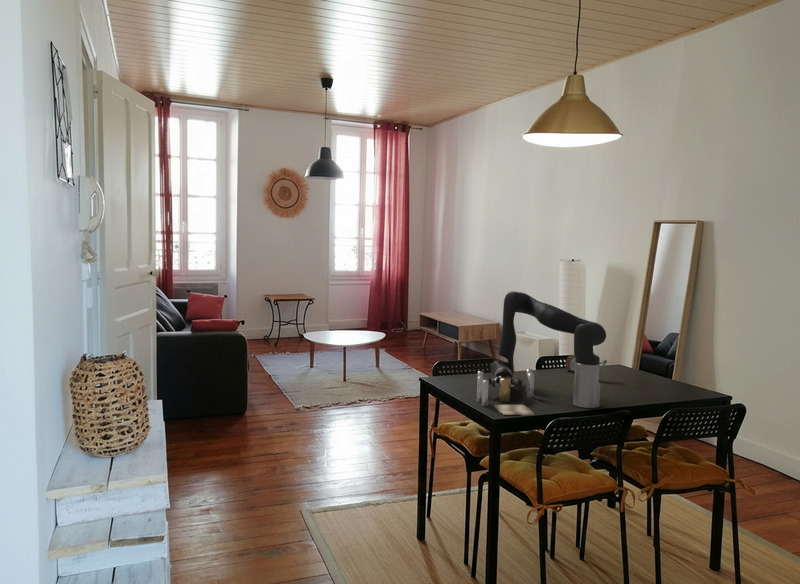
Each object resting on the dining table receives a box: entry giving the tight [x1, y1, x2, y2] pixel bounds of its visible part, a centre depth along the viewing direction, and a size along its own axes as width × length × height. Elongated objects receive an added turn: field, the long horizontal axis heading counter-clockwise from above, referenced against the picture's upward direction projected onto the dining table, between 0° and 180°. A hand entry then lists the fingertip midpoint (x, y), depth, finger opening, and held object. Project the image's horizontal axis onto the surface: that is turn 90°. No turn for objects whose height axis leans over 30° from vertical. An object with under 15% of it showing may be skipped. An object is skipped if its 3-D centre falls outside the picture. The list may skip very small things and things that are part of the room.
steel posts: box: [476, 368, 535, 407], centre depth 251 cm, size 28×24×10 cm
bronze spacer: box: [498, 378, 511, 403], centre depth 248 cm, size 4×4×9 cm
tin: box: [564, 354, 576, 373], centre depth 311 cm, size 15×3×8 cm, turn 122°
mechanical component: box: [599, 359, 608, 369], centre depth 292 cm, size 3×10×10 cm, turn 79°
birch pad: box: [493, 404, 535, 416], centre depth 233 cm, size 12×12×1 cm
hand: (505, 385), depth 246 cm, fingers open, 8 cm apart
